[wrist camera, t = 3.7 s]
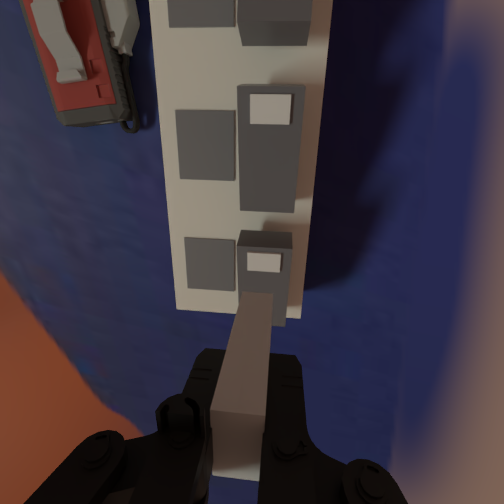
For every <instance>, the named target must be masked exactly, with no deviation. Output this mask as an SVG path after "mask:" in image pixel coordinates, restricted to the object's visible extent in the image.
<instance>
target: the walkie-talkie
mask: <svg viewBox="0 0 504 504" xmlns="http://www.w3.org/2000/svg"><path fill="white" fill-rule="evenodd" d="M19 3H20V6H21V9H22V12H23V15H24V18H25V22H26V25H27V28H28V31H29V34H30V37H31V39H32V41H33V46H34V47H35V50H36V52H35V53H36V55H37V57H38V62H39V63H40V66H41V70H42V72H43V77H44V78H45V84H46V85H47V88H48V92H49V94H50V99H51V100H52V103H53V104H52V105H53V106H54V110H55V111H54V112H55V113H56V116H57V119H58V120H59V121H60V122H61V123H62V124H63V125H64V126H73V127H88V126H95V125H103V124H110V123H118V122H120V125H121V127H122V129H123V130H124V131H125V132H127V133H136V132H138V130H139V127H140V120H139V116H138V112H137V107H136V103H135V98H134V94H133V89H132V85H131V81H130V76H129V63H130V60H129V57H130V56H133V55H132V47H133V44H134V41H135V38H136V35H137V33H138V30H139V27H140V22H139V17H138V12H137V7H136V2H135V0H19ZM126 121H133V128H132V129H130V128H129V127H128V125H127V123H126Z"/></svg>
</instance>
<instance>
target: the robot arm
mask: <svg viewBox="0 0 504 504" xmlns="http://www.w3.org/2000/svg"><path fill="white" fill-rule="evenodd" d="M272 304H273V294H270V293H256V292H242V295H241V298H240V302H239V305H238V309H237V313H236V316H235V320H234V324H233V327H232V331H231V335H230V338H229V342H228V346H227V349H226V350H220V349H209V348H205V349H204V350H203V351H202V352H201V353H200V354H199V355H198V356H197V357H196V360H195V362H194V365H193V367H192V370H191V372H190V375H189V378H188V380H187V382H186V385H185V387H184V390H183V392H182V394H176V395H174V396H171V397H169V398H167V399H166V400H165V401H163V402H162V403H161V404H160V405H159V407H158V408H157V410H156V411H155V413H156V421H157V428H158V431H157V432H155V433H153V434H150V435H147V436H143V437H139V438H134V439H129V440H124V438H123V436H122V435H121V434H120V433H118V432H117V431H112V430H106V431H101V432H97V433H95V434H93V435H91V436H89V437H87V438H86V439H85V440H84V441H83V442H82V443H80V444H79V445H78V446H77V447H76V448H75V449H74V450H73V451H72V453H70V455H69V456H68V457H67V458H66V459H65V460H64V461H63V462H62V463H61V464H60V465H59V466H58V467H57V468H56V469H55V471H54V472H53V473H52V474H51V475H50V476H49V477H48V478H47V479H46V480H45V481H44V482H43V483H42V484H41V486H40V487H39V488H38V489H37V490H36V491H35V492H34V493H33V494H32V495H31V496H30V497H29V499H28V500H27V501H26V502H25V503H24V504H207V503H208V496H209V480H210V475H211V471H212V472H213V475H215V476H223V477H230V478H238V479H246V480H254V481H259V489H258V503H257V504H408V503H407V501H406V499H405V498H404V496H403V494H402V492H401V490H400V488H399V486H398V485H397V483H396V482H395V480H394V479H393V478H392V476H391V475H390V473H389V472H387V471H386V470H385V469H384V468H383V467H381V466H380V465H379V464H377V463H375V462H372V461H370V460H367V459H356V460H353V461H351V462H349V463H348V465H346V464H344V463H342V462H339V461H337V460H335V459H333V458H331V457H329V456H327V455H326V454H324V453H322V452H321V451H320V450H319V449H318V448H317V447H316V446H315V445H314V443H313V442H312V441H311V439H310V437H309V434H308V431H307V425H306V413H305V402H304V390H303V380H302V366H301V364H300V362H299V361H298V359H297V358H296V356H295V355H286V354H275V353H270V339H271V321H272Z"/></svg>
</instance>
